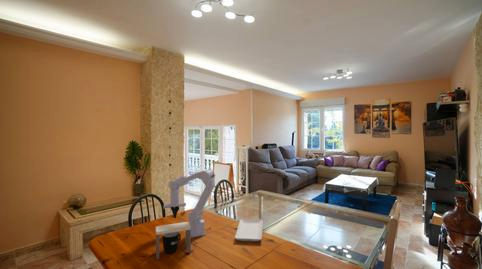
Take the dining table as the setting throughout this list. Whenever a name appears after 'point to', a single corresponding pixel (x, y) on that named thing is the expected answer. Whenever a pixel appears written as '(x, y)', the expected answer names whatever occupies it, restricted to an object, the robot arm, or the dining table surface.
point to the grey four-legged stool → (174, 228)
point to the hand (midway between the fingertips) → (174, 217)
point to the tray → (249, 230)
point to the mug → (171, 242)
